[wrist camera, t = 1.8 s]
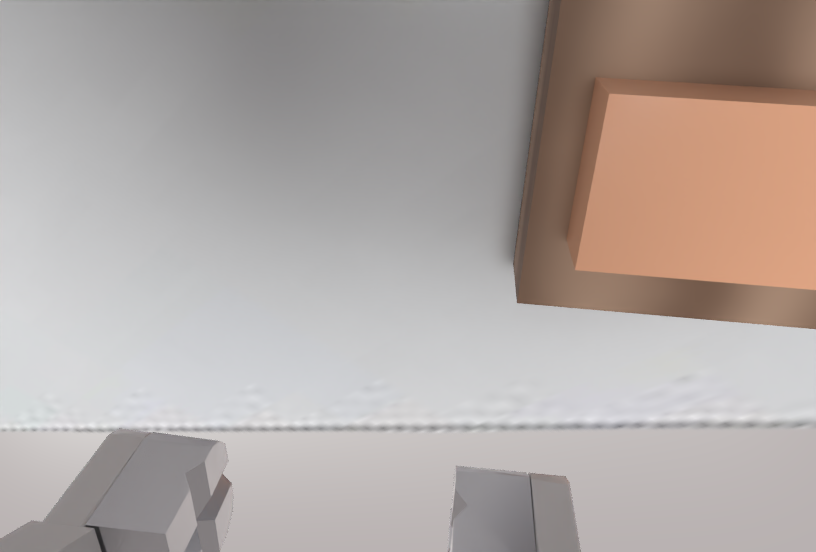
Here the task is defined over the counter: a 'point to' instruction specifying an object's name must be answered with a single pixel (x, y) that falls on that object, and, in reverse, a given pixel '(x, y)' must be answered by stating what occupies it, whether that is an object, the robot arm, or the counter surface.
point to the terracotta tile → (698, 183)
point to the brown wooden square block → (656, 61)
